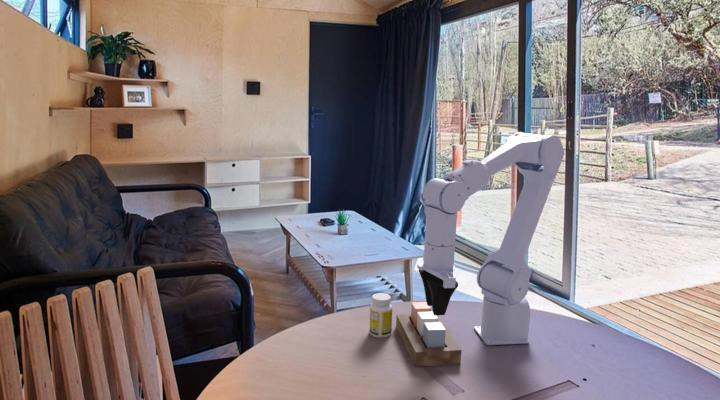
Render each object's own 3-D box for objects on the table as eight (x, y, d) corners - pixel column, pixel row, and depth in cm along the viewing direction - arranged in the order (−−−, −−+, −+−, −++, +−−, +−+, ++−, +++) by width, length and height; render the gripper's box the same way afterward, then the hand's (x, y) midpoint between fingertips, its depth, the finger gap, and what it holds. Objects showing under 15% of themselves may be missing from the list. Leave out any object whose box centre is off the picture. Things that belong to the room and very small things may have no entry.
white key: (432, 327, 109) (433, 311, 108) (437, 335, 106) (438, 318, 105) (416, 328, 109) (417, 312, 108) (420, 336, 105) (421, 319, 104)
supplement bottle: (391, 329, 114) (393, 293, 113) (390, 338, 110) (392, 301, 108) (370, 327, 115) (371, 291, 113) (368, 337, 110) (369, 300, 108)
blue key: (439, 338, 104) (440, 321, 103) (444, 347, 101) (445, 329, 100) (422, 339, 104) (423, 322, 103) (427, 347, 100) (428, 330, 100)
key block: (435, 325, 117) (435, 312, 116) (460, 364, 100) (461, 350, 100) (395, 327, 115) (396, 314, 115) (415, 366, 99) (415, 352, 98)
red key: (425, 317, 114) (426, 301, 113) (430, 324, 111) (431, 308, 110) (410, 318, 113) (411, 302, 113) (414, 325, 110) (415, 308, 109)
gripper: (409, 232, 104) (406, 295, 107) (430, 254, 90) (425, 327, 93) (443, 231, 106) (439, 294, 108) (468, 253, 91) (463, 325, 94)
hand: (435, 309), depth 101 cm, fingers open, 4 cm apart
